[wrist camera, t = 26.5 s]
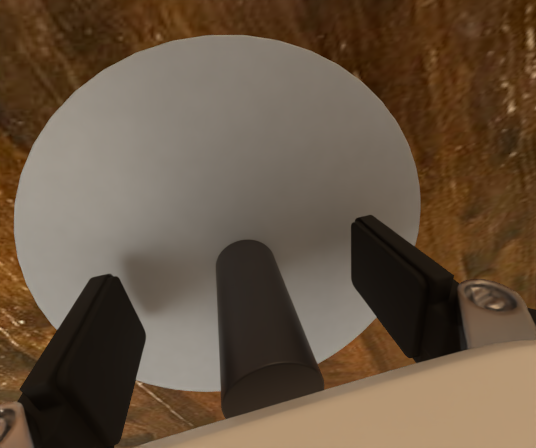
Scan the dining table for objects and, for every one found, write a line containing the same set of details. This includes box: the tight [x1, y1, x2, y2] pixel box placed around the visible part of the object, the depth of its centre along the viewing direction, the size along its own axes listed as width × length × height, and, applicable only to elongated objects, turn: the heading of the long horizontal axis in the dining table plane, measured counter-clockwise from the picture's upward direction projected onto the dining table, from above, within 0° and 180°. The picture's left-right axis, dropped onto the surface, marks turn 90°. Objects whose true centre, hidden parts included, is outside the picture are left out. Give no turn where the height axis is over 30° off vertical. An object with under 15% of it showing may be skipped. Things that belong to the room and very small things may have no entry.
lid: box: [14, 35, 421, 419], centre depth 9 cm, size 16×16×7 cm
